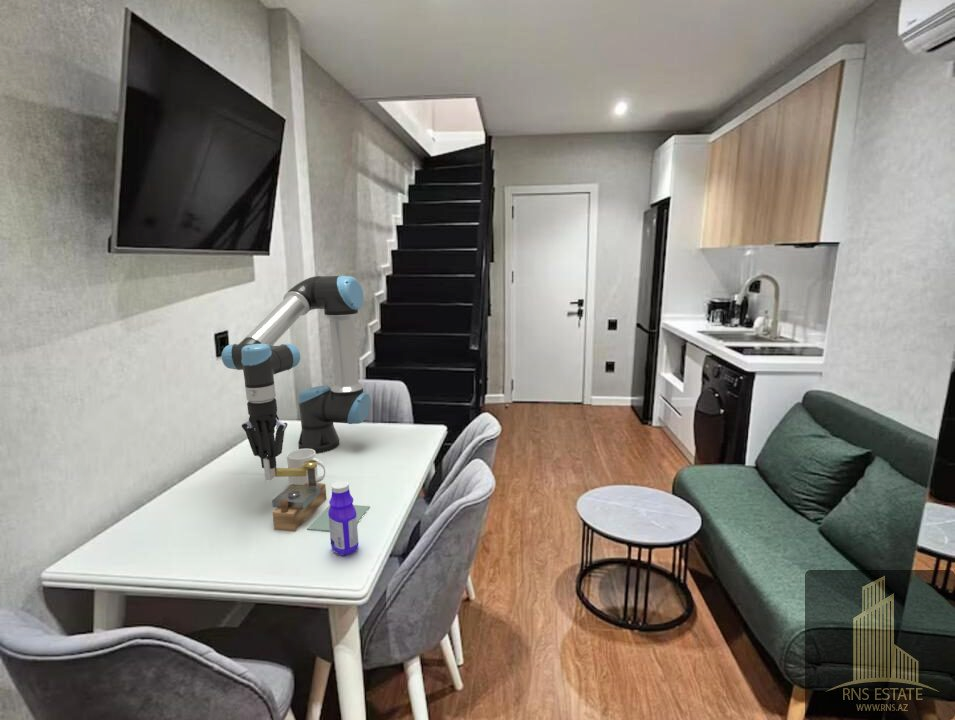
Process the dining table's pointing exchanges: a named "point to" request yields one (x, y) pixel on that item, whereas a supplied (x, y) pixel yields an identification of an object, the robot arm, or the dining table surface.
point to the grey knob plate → (297, 496)
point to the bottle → (342, 520)
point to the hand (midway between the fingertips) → (270, 478)
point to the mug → (298, 459)
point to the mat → (323, 519)
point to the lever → (296, 470)
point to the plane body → (296, 517)
